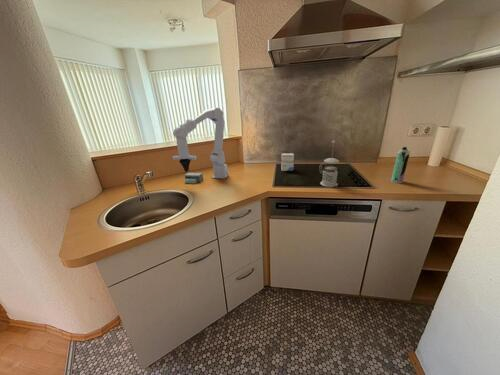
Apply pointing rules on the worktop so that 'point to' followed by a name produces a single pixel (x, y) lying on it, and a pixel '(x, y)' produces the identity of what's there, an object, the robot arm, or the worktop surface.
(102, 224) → the worktop surface
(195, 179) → the tray shell
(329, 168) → the french press
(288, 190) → the worktop surface
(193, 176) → the low shelf
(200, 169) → the worktop surface
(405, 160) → the spray can
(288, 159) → the ink box
